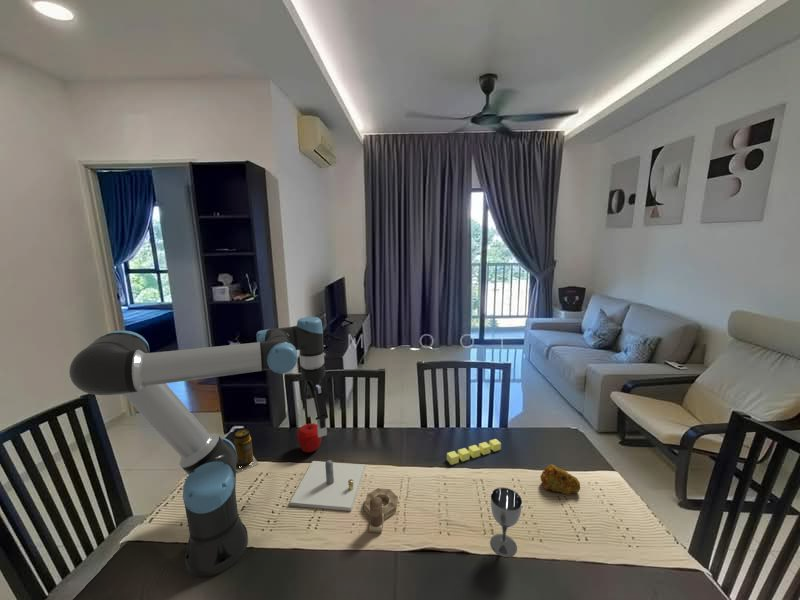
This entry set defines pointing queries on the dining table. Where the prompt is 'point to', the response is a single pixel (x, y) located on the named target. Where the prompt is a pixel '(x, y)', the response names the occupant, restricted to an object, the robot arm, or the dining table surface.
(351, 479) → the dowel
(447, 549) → the dining table surface
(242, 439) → the condiment
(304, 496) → the board
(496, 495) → the wine glass
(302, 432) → the apple
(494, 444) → the yellow cube row
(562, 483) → the brown lumpy piece
